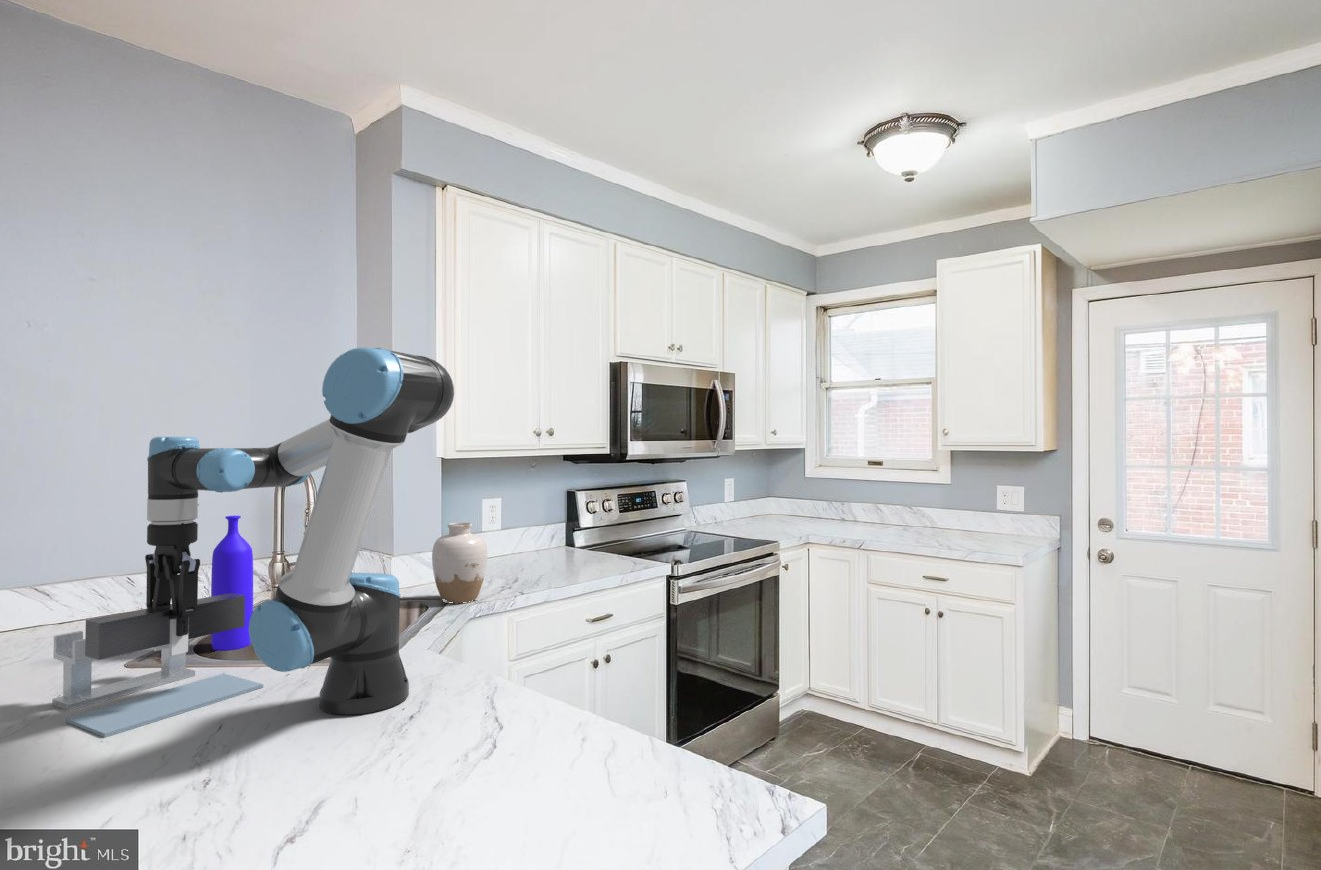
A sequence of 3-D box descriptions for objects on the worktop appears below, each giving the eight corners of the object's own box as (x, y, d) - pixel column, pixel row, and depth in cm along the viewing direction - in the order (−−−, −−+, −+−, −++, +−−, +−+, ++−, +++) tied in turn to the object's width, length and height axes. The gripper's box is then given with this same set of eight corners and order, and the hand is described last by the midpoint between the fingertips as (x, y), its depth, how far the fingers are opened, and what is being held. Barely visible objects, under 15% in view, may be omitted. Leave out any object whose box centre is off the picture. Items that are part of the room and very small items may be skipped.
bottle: (233, 652, 157) (234, 518, 157) (201, 650, 158) (202, 517, 159) (261, 642, 165) (262, 514, 165) (230, 640, 166) (232, 513, 167)
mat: (263, 687, 135) (263, 684, 135) (104, 737, 112) (104, 733, 112) (223, 676, 141) (223, 673, 141) (65, 721, 118) (65, 718, 118)
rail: (230, 623, 138) (231, 592, 138) (244, 626, 136) (245, 595, 136) (85, 655, 117) (85, 619, 117) (98, 659, 115) (99, 623, 115)
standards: (197, 676, 141) (198, 616, 141) (71, 711, 122) (71, 642, 122) (175, 670, 144) (176, 611, 145) (49, 703, 126) (50, 636, 126)
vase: (457, 609, 198) (458, 528, 198) (420, 602, 206) (420, 524, 206) (498, 598, 211) (498, 522, 211) (461, 592, 220) (461, 519, 220)
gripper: (222, 523, 126) (220, 653, 126) (168, 516, 134) (166, 638, 134) (177, 527, 119) (175, 664, 119) (123, 520, 127) (121, 648, 127)
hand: (170, 650), depth 126 cm, fingers closed on rail, 4 cm apart
